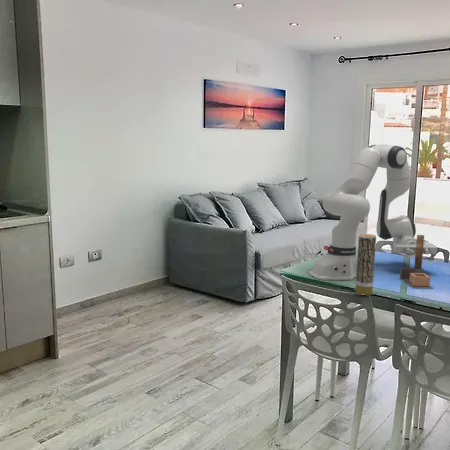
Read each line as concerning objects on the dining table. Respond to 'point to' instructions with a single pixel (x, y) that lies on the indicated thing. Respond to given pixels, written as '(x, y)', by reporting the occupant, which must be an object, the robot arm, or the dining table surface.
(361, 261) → the bark textured cylinder
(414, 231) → the robot arm
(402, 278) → the rail
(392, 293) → the dining table surface
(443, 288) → the dining table surface
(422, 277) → the collar
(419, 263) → the dowel
